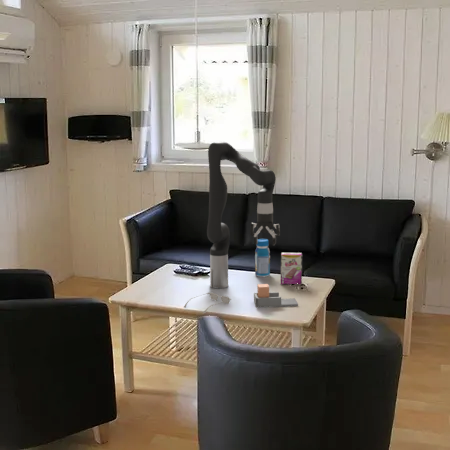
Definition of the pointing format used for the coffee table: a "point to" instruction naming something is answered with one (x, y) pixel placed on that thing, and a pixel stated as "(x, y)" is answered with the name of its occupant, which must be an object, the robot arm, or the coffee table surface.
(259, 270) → the beverage bottle
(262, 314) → the coffee table surface
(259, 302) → the chute
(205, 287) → the coffee table surface
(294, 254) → the candy bar box
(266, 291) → the block
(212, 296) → the eyeglasses
